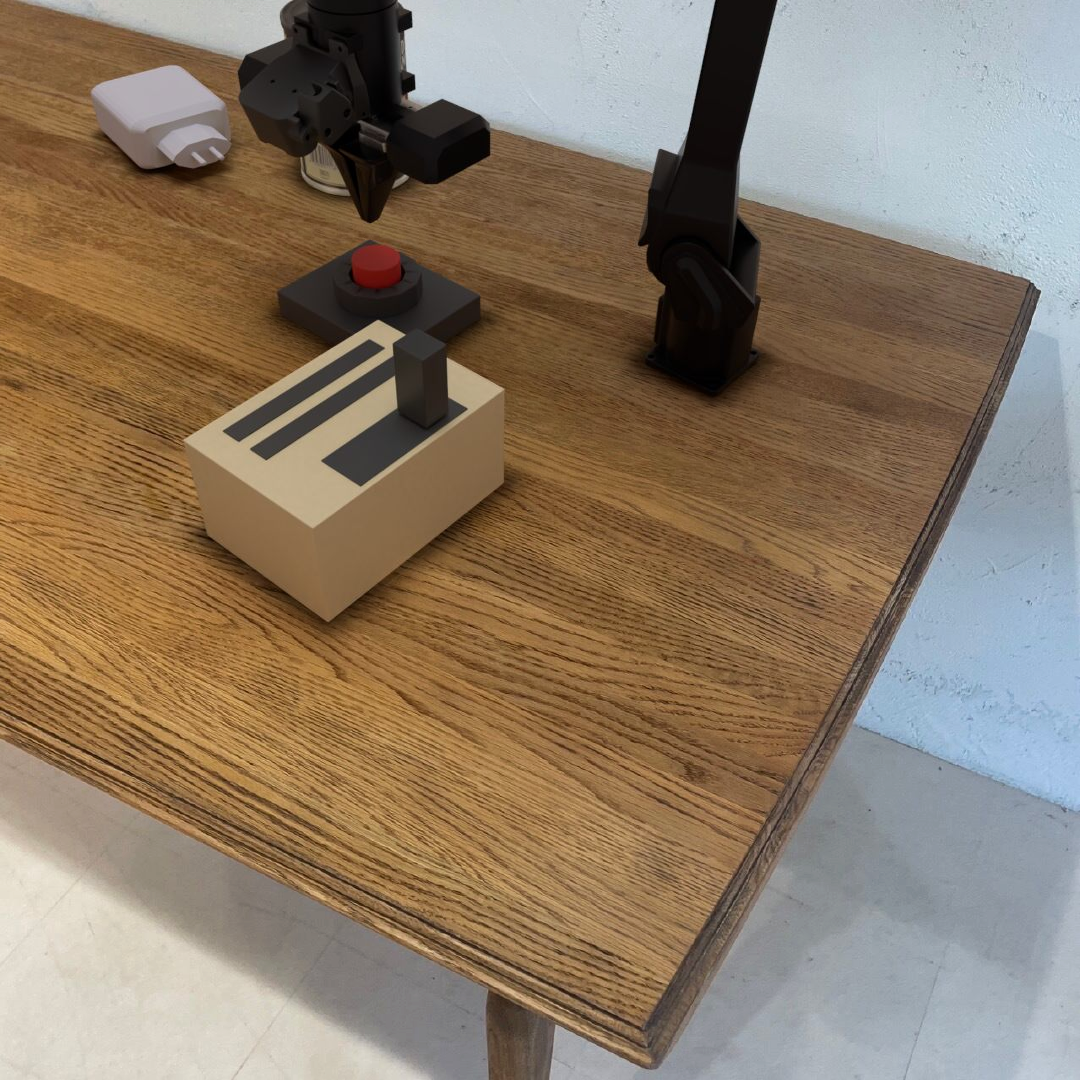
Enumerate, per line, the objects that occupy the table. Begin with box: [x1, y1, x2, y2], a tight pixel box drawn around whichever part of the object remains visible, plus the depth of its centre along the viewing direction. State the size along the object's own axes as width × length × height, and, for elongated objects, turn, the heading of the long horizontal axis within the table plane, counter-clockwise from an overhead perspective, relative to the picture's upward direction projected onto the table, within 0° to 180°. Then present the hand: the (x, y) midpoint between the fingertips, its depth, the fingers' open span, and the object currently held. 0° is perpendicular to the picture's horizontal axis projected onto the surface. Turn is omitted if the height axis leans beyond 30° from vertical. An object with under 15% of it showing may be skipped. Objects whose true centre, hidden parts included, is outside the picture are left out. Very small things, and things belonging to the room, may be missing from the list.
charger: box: [90, 64, 233, 170], centre depth 104 cm, size 5×9×15 cm
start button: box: [352, 244, 401, 289], centre depth 86 cm, size 4×4×2 cm
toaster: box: [182, 320, 506, 623], centre depth 71 cm, size 11×16×8 cm
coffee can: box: [279, 0, 410, 197], centre depth 100 cm, size 10×10×14 cm
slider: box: [392, 329, 449, 428], centre depth 66 cm, size 2×2×5 cm
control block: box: [276, 239, 482, 347], centre depth 87 cm, size 12×10×4 cm
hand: (370, 219), depth 83 cm, fingers closed
